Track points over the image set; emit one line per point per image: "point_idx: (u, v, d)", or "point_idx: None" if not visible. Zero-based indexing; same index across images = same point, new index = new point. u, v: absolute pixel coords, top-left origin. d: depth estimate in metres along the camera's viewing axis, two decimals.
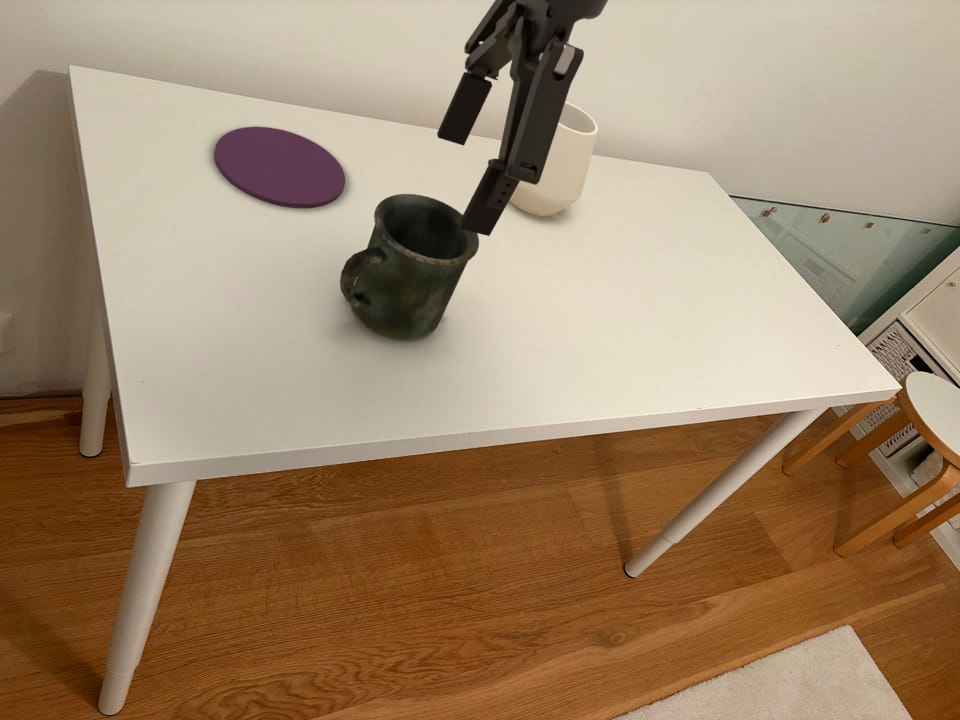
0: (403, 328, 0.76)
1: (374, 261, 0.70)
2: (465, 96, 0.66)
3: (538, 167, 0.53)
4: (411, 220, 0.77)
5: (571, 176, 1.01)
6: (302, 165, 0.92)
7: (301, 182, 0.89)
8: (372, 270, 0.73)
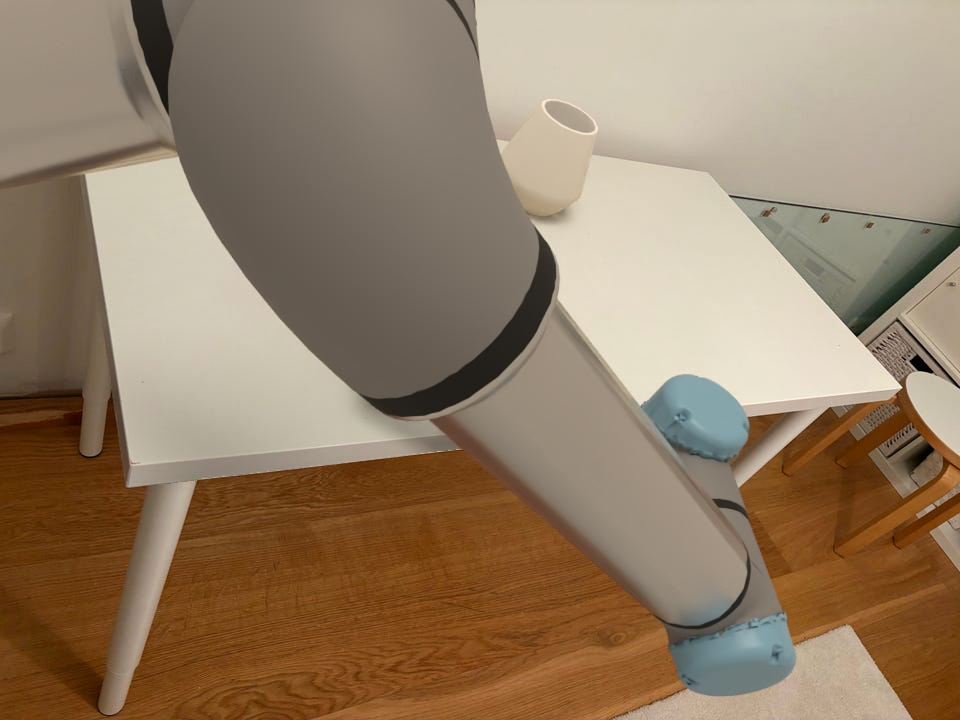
0: None
1: None
2: None
3: None
4: None
5: (571, 176, 1.01)
6: None
7: None
8: None
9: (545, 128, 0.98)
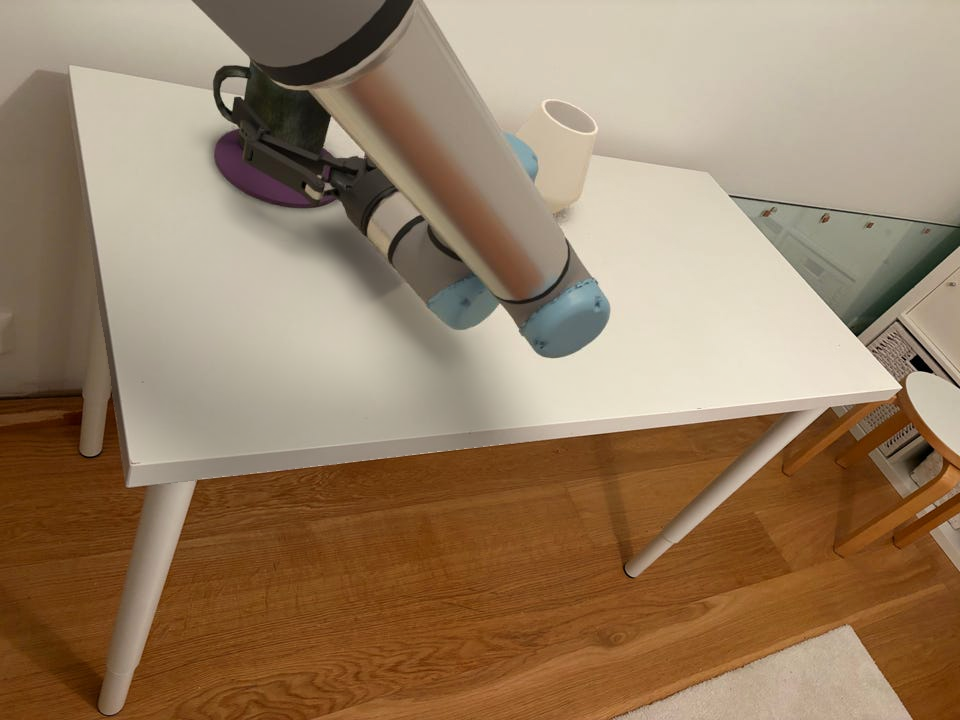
0: None
1: (237, 74, 0.82)
2: None
3: (251, 162, 0.77)
4: None
5: (571, 176, 1.01)
6: None
7: None
8: (245, 90, 0.85)
9: (545, 128, 0.98)
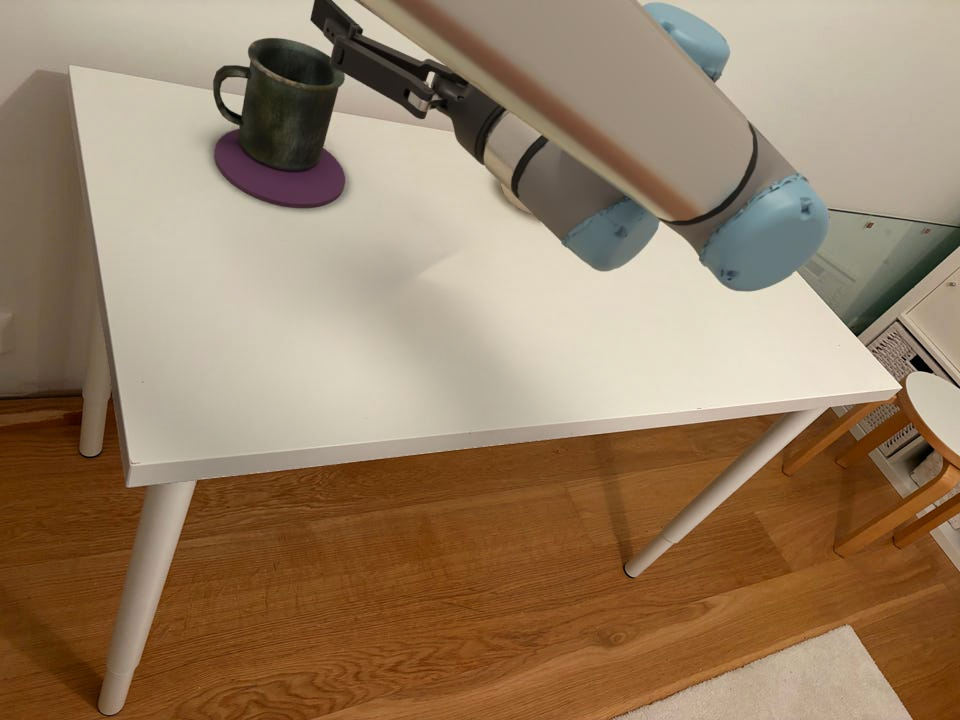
0: (266, 150, 0.87)
1: (237, 74, 0.82)
2: None
3: (340, 65, 0.62)
4: (301, 68, 0.90)
5: None
6: None
7: (301, 182, 0.89)
8: (245, 90, 0.85)
9: None
